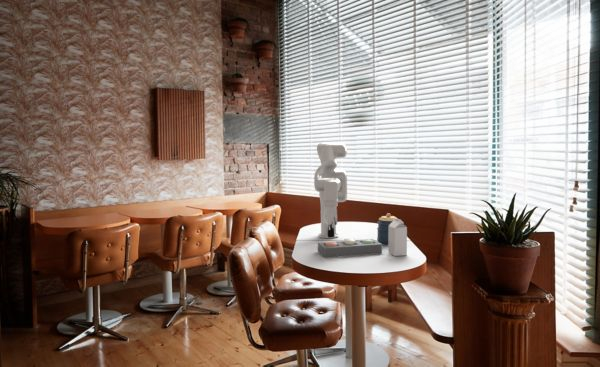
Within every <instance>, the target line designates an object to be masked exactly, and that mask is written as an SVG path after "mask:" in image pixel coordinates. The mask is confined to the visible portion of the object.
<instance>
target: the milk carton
mask: <svg viewBox="0 0 600 367" xmlns="http://www.w3.org/2000/svg"><path fill="white" fill-rule="evenodd" d="M407 239H408V227H407V226H406V225H405V224H404V221H402V219H399V218H397V217H396V218H394V221H393V222H392V223H391V224H390V225H389V228H388V245H387V246H388V251H387V252H388V254H390V255H391V256H393V257H400V256H407V252H408V251H407V249H408V240H407Z"/></svg>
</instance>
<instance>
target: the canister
mask: <svg viewBox="0 0 600 367" xmlns="http://www.w3.org/2000/svg"><path fill="white" fill-rule="evenodd" d="M394 218H397V217H396V216H394V215H391V213H388V212H387V213H386V215H382V216H381V217H379V218H378V221H377V223H376V224H377V228H376V230H377V236H376V237H377V238H376V241H377V242H379V243H381V244H382V245H387V246H388V228H389V225H390V224H391V223H392V222H393V221H394Z"/></svg>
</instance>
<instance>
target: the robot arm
mask: <svg viewBox="0 0 600 367" xmlns="http://www.w3.org/2000/svg"><path fill="white" fill-rule="evenodd" d="M347 150H348V149H347V145H346V144H345V143H344V142H321V143H319V144H317V145H316V151H317V152H316V153H317V156H318V158H319V161H320V164H321V165H318V168H317V169H316V170H315V172H314V176H313V178H314V180H313V181H314V183H313V186H314V190H315V191H316V192H318V194H319V200H320V201H319V203H320V233H318V237H319V238H320V239H321V238H322V239H336V238H338V237H339V234H338V233H337V225H338V209H337V207H338V206H339V205H338V204H339V203H344V202H346V201H347V200H348V175H347V172H346V171H345V170H344V169H336V168H337V167H338V163H337V161H338V160H337V159H338V158H339V159H340V158H343V159H344V158H345V157H347V153H348V152H347Z"/></svg>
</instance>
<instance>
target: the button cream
mask: <svg viewBox="0 0 600 367" xmlns="http://www.w3.org/2000/svg"><path fill="white" fill-rule="evenodd" d="M355 240H356V239H355V238H344V239H343V241H344V245H355Z"/></svg>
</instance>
